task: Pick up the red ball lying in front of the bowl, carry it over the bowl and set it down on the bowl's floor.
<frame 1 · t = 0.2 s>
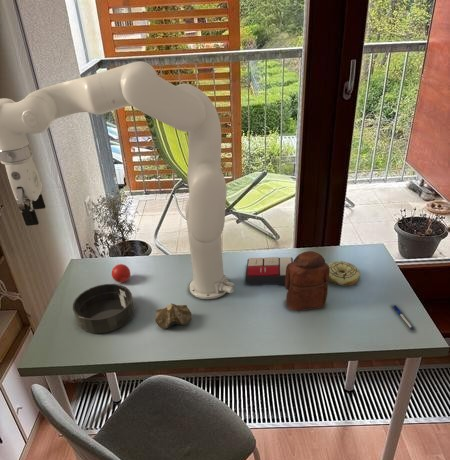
hand: (36, 216, 117), 31 cm above the table, tool pointing down, fingers open, 9 cm apart
decorated donut: (341, 278, 139), on the table
red ball: (121, 273, 143), point 3 cm above the table
ballpoint pen: (402, 318, 122), on the table
bowl: (106, 315, 130), on the table
wooden figurine: (304, 305, 129), on the table
fossilized seashell: (173, 322, 126), on the table
miniature drawer cabinet: (269, 275, 143), on the table
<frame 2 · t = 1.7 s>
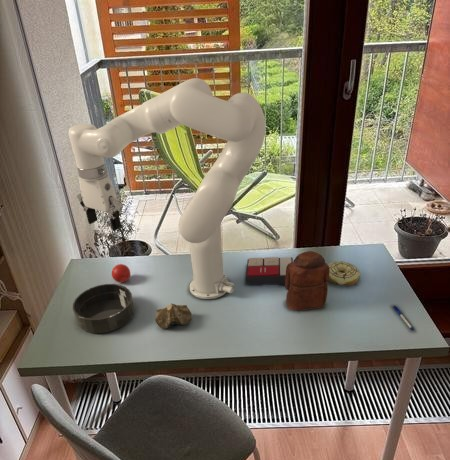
hand: (104, 225, 131), 21 cm above the table, tool pointing down, fingers open, 9 cm apart
nothing on the table moved.
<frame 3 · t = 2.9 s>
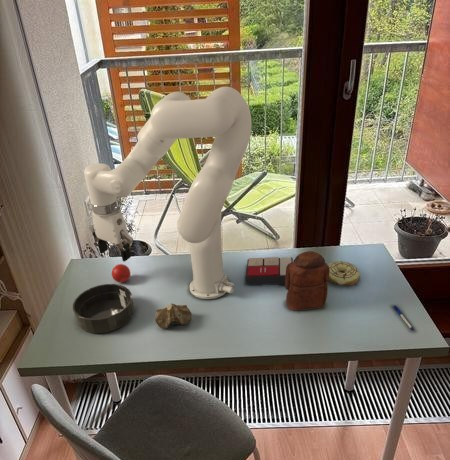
hand: (115, 255, 139), 10 cm above the table, tool pointing down, fingers open, 9 cm apart
nothing on the table moved.
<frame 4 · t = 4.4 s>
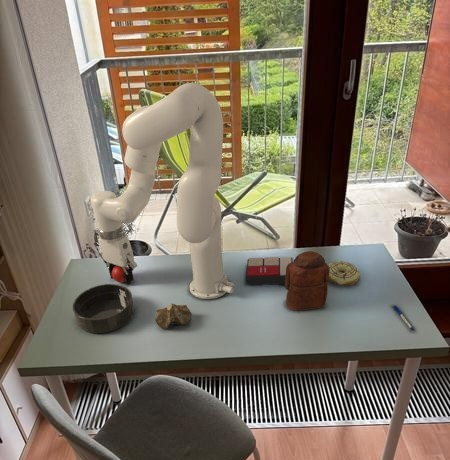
hand: (122, 278, 144), 1 cm above the table, tool pointing down, fingers closed on red ball, 6 cm apart
red ball: (121, 273, 143), point 3 cm above the table, touching gripper
everything else where it was.
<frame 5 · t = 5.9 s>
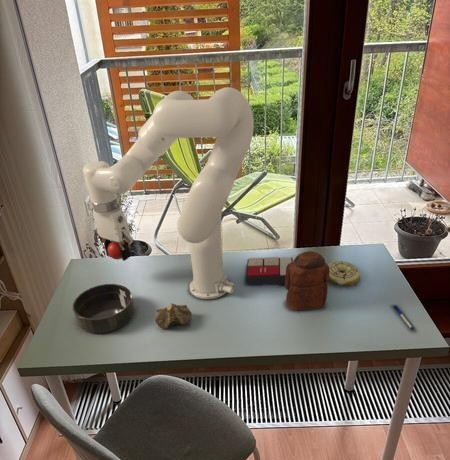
hand: (118, 255, 139), 10 cm above the table, tool pointing down, fingers closed on red ball, 6 cm apart
red ball: (117, 250, 137), point 12 cm above the table, touching gripper
everything else where it was.
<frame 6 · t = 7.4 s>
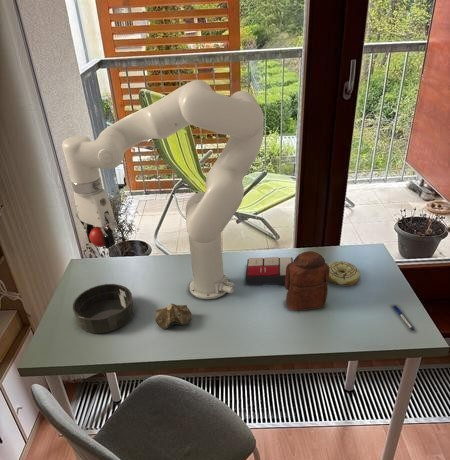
hand: (101, 243, 126), 20 cm above the table, tool pointing down, fingers closed on red ball, 6 cm apart
red ball: (100, 236, 125), point 22 cm above the table, touching gripper
everything else where it was.
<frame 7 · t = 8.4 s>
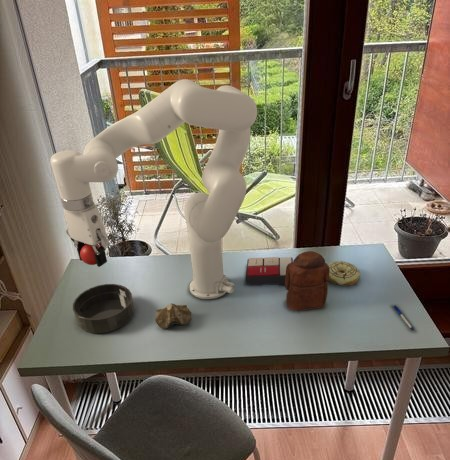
hand: (93, 260, 120), 19 cm above the table, tool pointing down, fingers closed on red ball, 6 cm apart
red ball: (91, 254, 119), point 21 cm above the table, touching gripper
everything else where it was.
when the fingers open (1 cm above the table, at t = 12.7 s): red ball moves 4 cm and tips over, resting on bowl.
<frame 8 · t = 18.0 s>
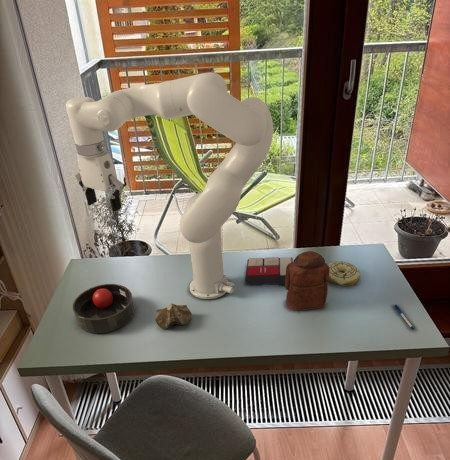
hand: (104, 206, 126), 28 cm above the table, tool pointing down, fingers open, 9 cm apart
red ball: (102, 298, 131), point 4 cm above the table, tilted 74°, touching bowl
everything else where it was.
at the end: red ball inside the target area in the bowl (4.0 cm from its centre), point 3.6 cm above the bowl's base; the gripper is holding nothing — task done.
